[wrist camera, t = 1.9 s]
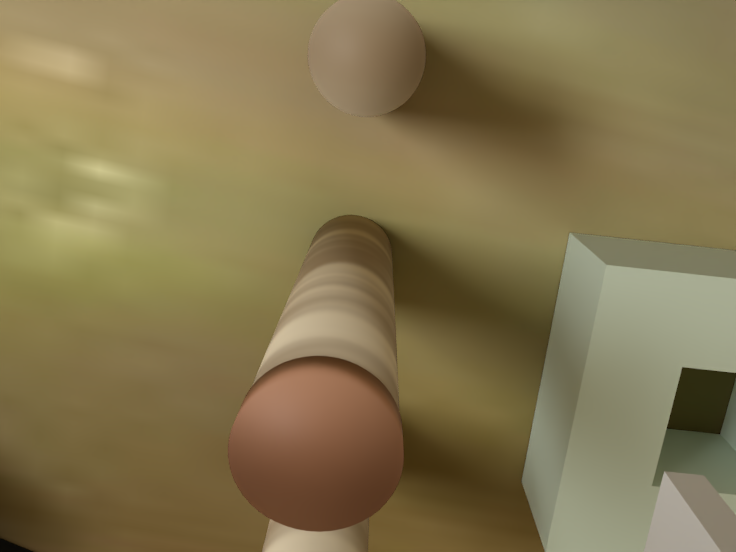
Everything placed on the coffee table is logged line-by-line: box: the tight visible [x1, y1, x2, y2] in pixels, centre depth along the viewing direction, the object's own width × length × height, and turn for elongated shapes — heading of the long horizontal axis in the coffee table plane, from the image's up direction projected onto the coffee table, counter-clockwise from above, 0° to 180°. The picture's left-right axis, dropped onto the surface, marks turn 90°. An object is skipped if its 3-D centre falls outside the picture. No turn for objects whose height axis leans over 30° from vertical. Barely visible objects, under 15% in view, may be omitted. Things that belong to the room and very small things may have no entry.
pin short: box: [308, 0, 426, 117], centre depth 24 cm, size 4×4×7 cm
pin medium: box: [262, 518, 369, 552], centre depth 27 cm, size 4×4×11 cm
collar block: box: [521, 233, 736, 552], centre depth 28 cm, size 12×12×5 cm
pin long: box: [228, 215, 404, 532], centre depth 22 cm, size 4×4×16 cm
